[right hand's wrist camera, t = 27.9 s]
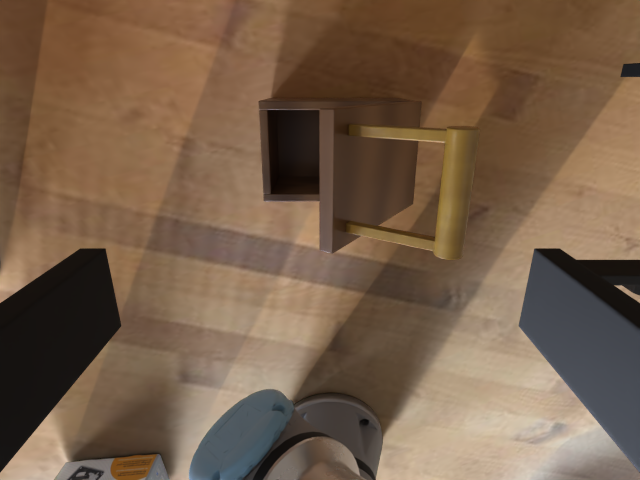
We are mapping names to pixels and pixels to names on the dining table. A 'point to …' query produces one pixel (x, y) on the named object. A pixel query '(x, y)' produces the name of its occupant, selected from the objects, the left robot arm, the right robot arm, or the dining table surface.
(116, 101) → the dining table surface
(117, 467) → the hard drive box
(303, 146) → the chest
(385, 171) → the lid
